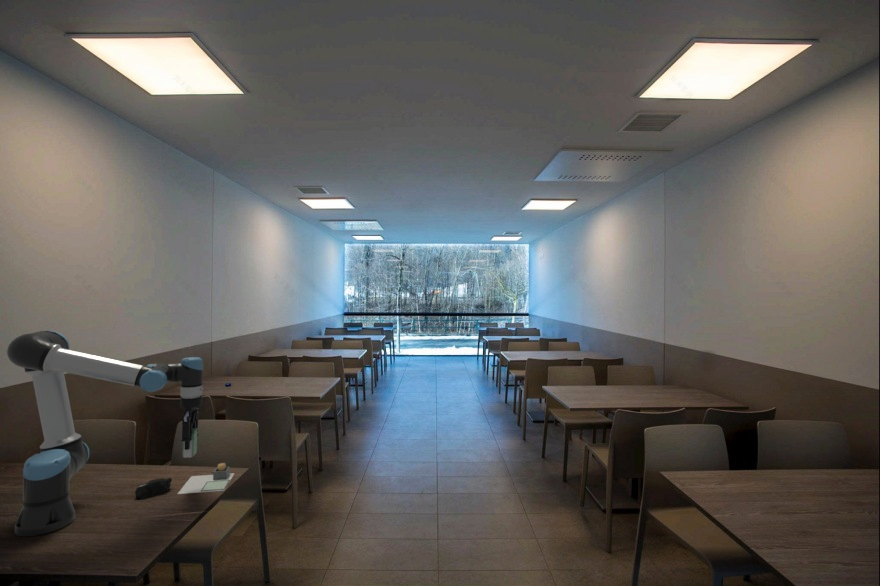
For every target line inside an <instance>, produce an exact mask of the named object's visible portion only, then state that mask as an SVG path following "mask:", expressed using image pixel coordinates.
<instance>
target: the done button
mask: <svg viewBox="0 0 880 586" xmlns="http://www.w3.org/2000/svg"><path fill="white" fill-rule="evenodd" d="M217 467H218V471H225V469H226V467H227V466H226V463H225V462H221V463H217Z"/></svg>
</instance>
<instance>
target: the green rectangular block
mask: <svg viewBox="0 0 880 586" xmlns="http://www.w3.org/2000/svg"><path fill="white" fill-rule="evenodd" d="M197 434H198V432H197V428H192V436H191V440H192V457H187V458H186V459H191V458H193V457H195V455H196V454H197V452H198V436H197ZM183 456H184V441H182V458H183Z"/></svg>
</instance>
